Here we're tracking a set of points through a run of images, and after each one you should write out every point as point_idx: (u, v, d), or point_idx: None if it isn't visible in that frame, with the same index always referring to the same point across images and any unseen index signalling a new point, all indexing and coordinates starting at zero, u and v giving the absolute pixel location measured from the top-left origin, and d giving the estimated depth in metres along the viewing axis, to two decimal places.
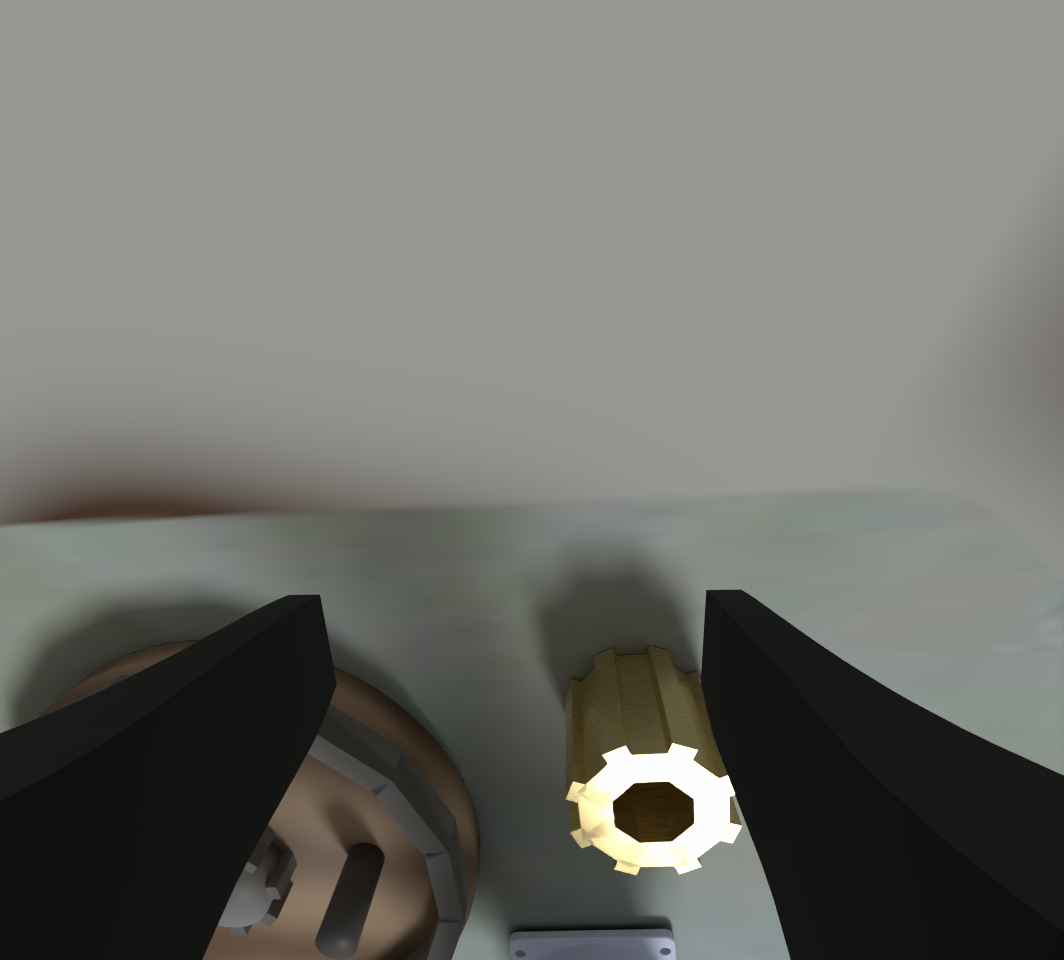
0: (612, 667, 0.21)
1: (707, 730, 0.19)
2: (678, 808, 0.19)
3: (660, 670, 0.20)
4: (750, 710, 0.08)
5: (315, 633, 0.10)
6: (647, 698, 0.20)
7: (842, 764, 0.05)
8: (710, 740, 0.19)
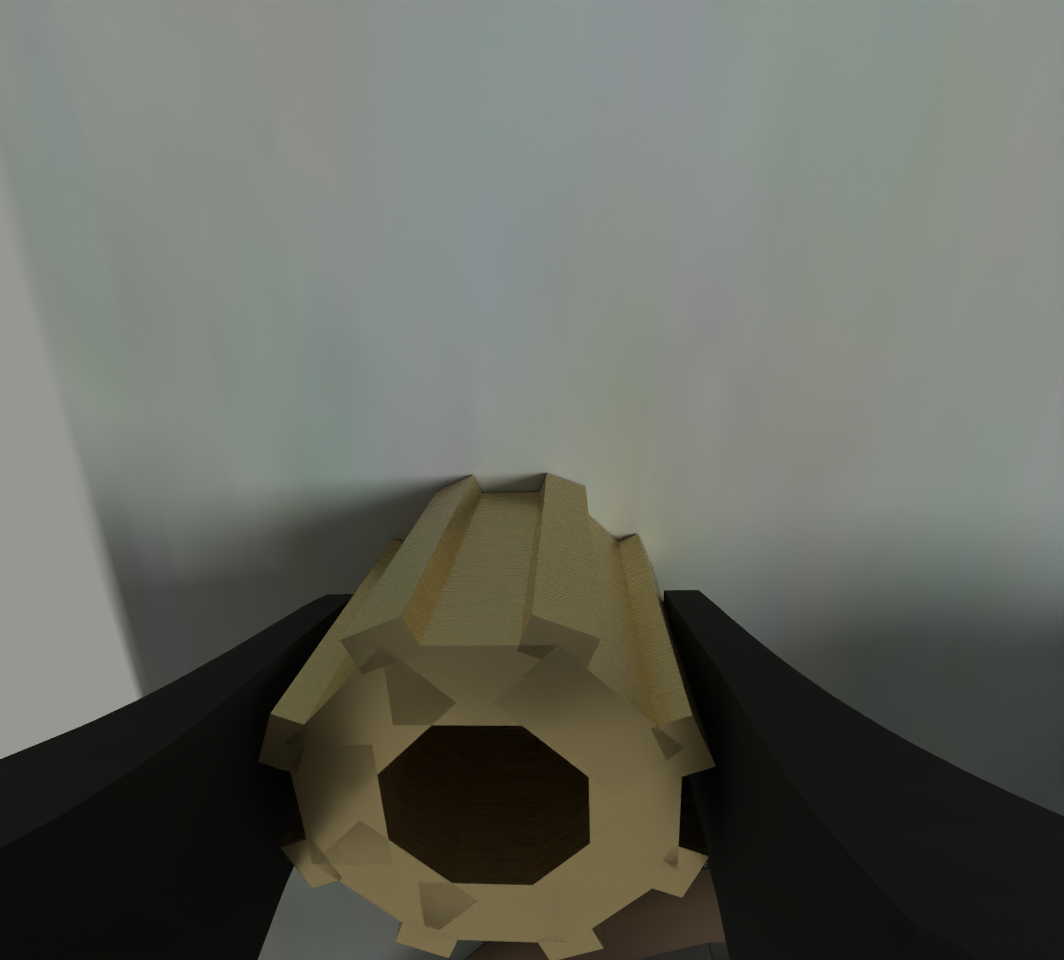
0: None
1: None
2: None
3: None
4: None
5: None
6: None
7: (763, 763, 0.05)
8: None
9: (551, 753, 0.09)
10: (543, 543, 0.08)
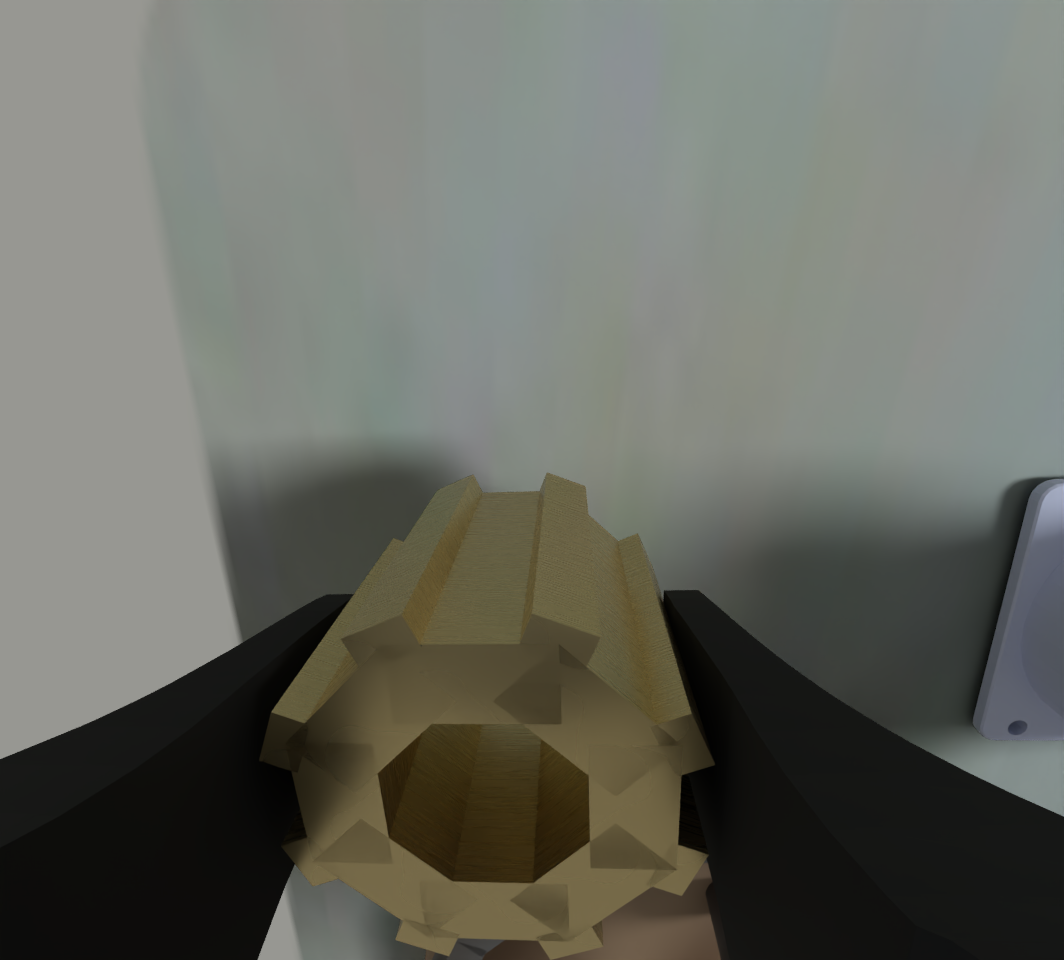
0: None
1: None
2: None
3: None
4: None
5: None
6: None
7: (763, 763, 0.05)
8: None
9: (551, 752, 0.09)
10: (543, 542, 0.08)
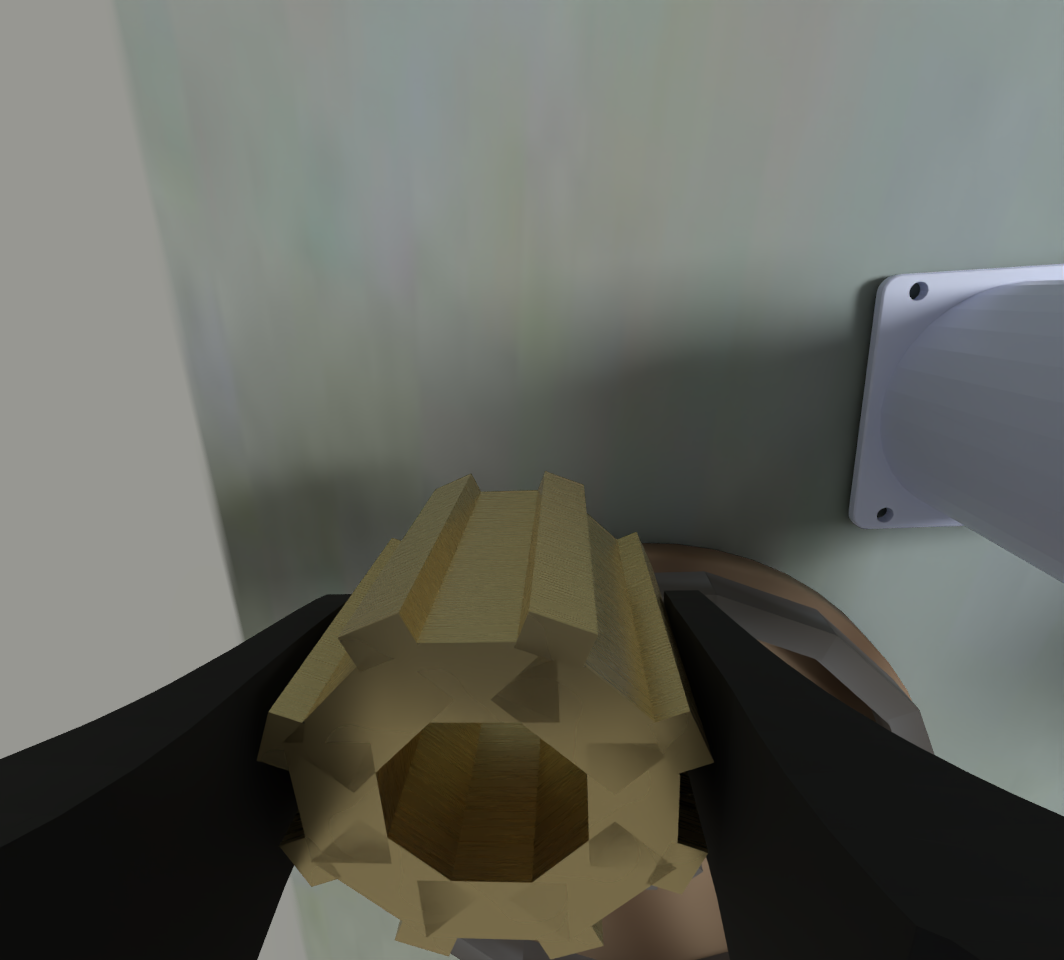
0: None
1: None
2: None
3: None
4: None
5: None
6: None
7: (764, 763, 0.05)
8: None
9: (550, 751, 0.09)
10: (541, 540, 0.08)
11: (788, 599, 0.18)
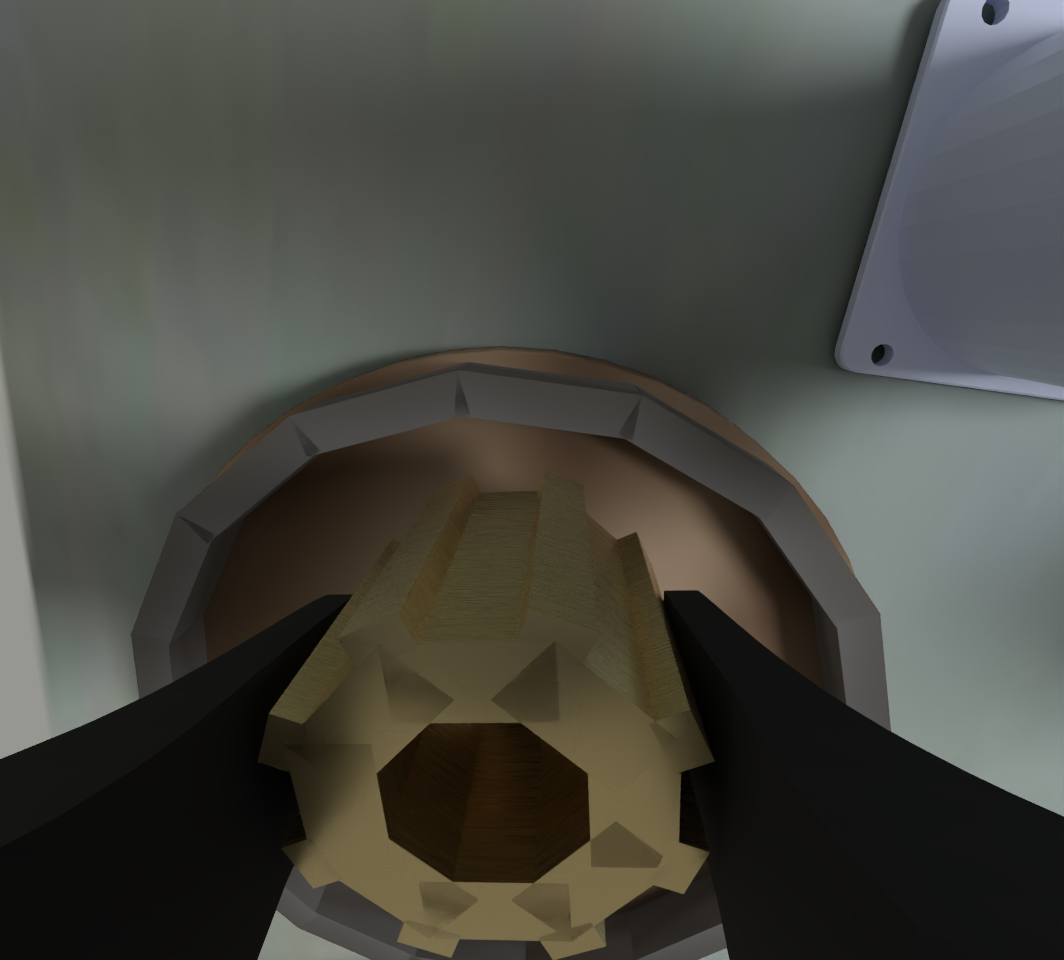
0: None
1: None
2: None
3: None
4: None
5: None
6: None
7: (763, 763, 0.05)
8: None
9: (552, 751, 0.09)
10: (540, 540, 0.08)
11: (737, 444, 0.14)
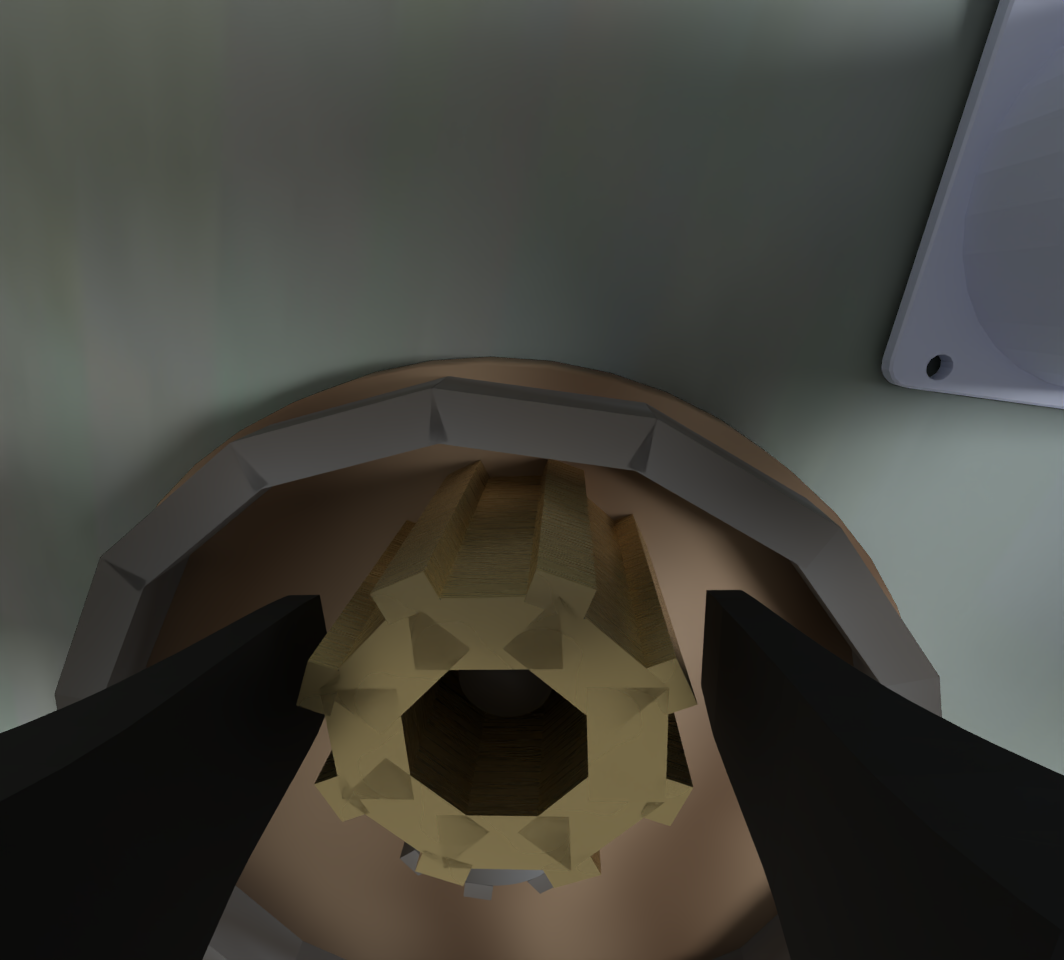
0: None
1: None
2: None
3: None
4: (750, 710, 0.08)
5: (315, 633, 0.10)
6: None
7: (842, 764, 0.05)
8: None
9: (553, 709, 0.10)
10: (545, 515, 0.09)
11: (767, 474, 0.11)
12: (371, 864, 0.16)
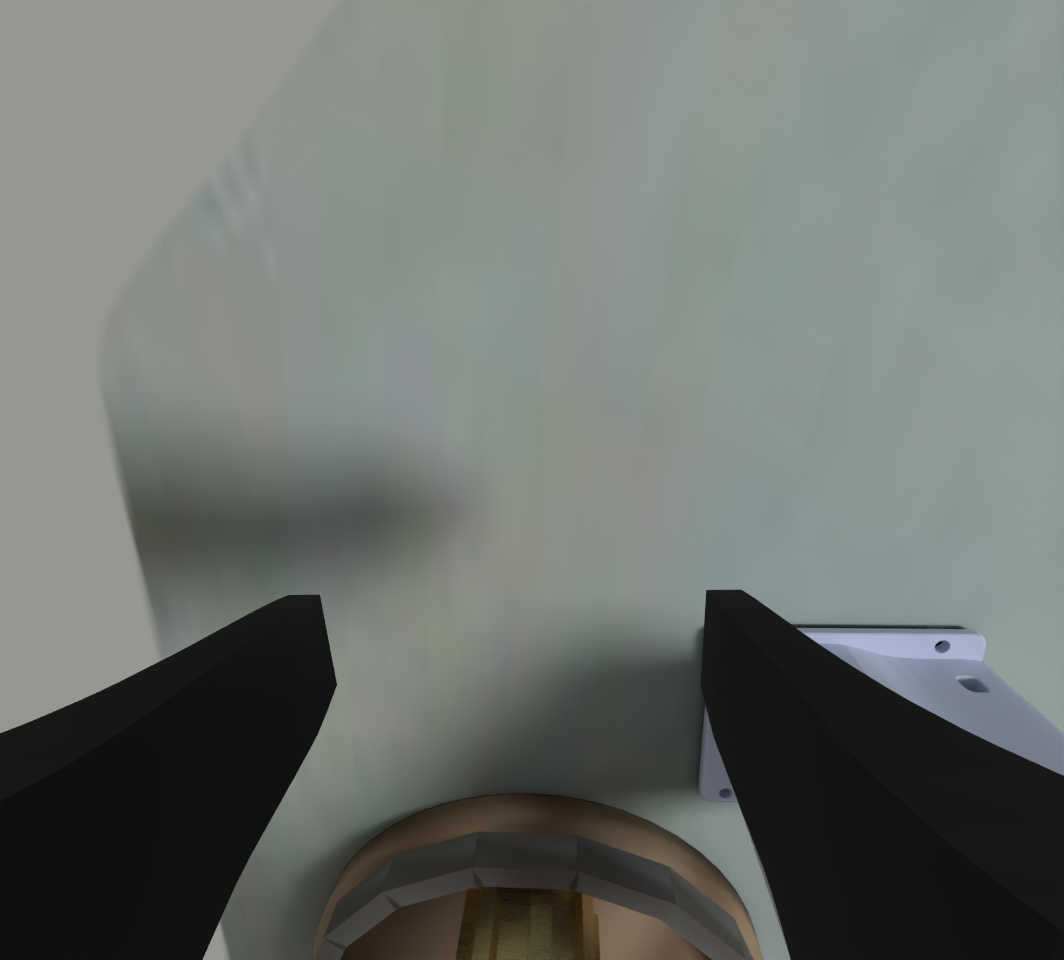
0: None
1: None
2: None
3: (459, 934, 0.23)
4: (750, 710, 0.08)
5: (315, 633, 0.10)
6: None
7: (842, 764, 0.05)
8: None
9: None
10: (530, 943, 0.20)
11: (645, 858, 0.23)
12: None
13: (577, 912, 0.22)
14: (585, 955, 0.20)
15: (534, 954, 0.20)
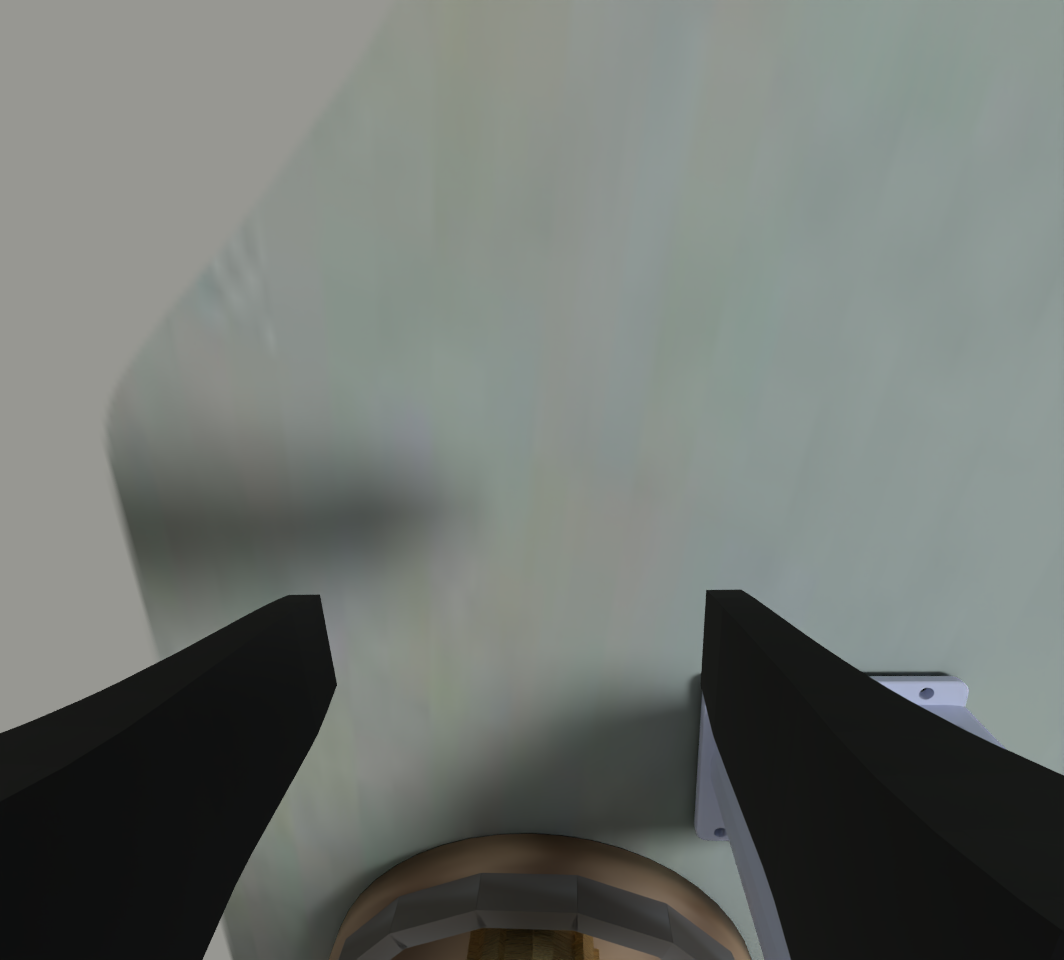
0: None
1: None
2: None
3: None
4: (750, 710, 0.08)
5: (315, 633, 0.10)
6: None
7: (842, 764, 0.05)
8: None
9: None
10: None
11: (643, 896, 0.23)
12: None
13: (578, 950, 0.23)
14: None
15: None
